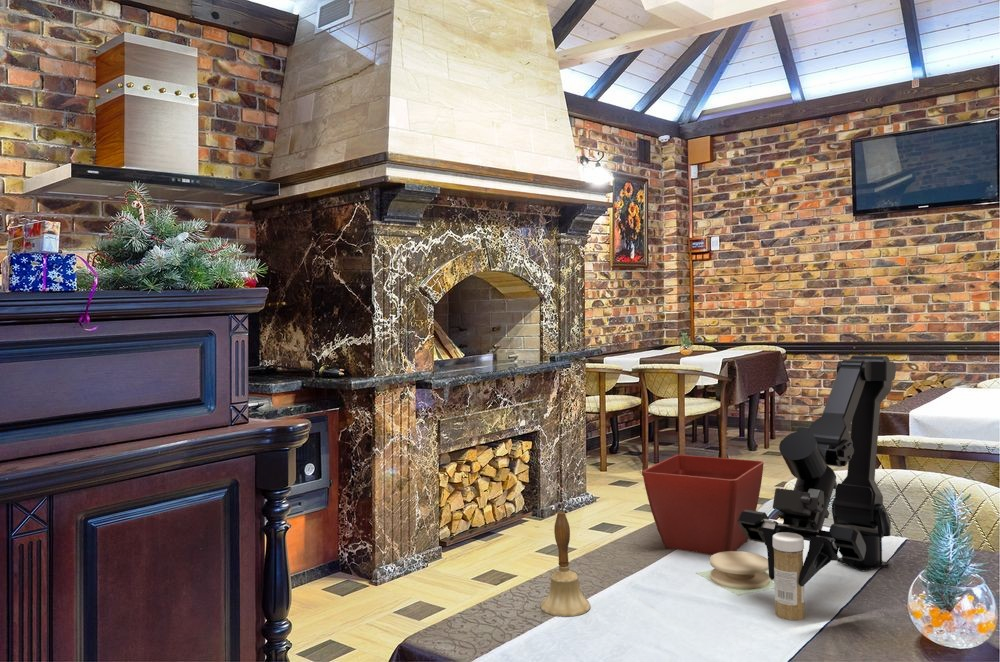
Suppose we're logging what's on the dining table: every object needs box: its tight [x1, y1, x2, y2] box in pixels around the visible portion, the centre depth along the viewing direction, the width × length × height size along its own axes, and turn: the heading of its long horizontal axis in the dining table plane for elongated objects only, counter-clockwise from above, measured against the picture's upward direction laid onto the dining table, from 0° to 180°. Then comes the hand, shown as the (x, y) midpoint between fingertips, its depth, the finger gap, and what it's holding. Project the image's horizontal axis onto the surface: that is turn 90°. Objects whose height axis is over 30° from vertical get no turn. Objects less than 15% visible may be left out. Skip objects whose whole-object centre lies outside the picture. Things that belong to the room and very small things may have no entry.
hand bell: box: [540, 511, 591, 618], centre depth 130 cm, size 8×8×16 cm
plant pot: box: [642, 454, 765, 556], centre depth 159 cm, size 19×19×17 cm
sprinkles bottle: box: [773, 532, 806, 621], centre depth 122 cm, size 5×5×13 cm
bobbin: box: [709, 550, 770, 590], centre depth 138 cm, size 10×10×3 cm
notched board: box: [695, 569, 775, 596], centre depth 139 cm, size 14×12×1 cm
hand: (785, 581), depth 121 cm, fingers closed on sprinkles bottle, 4 cm apart
